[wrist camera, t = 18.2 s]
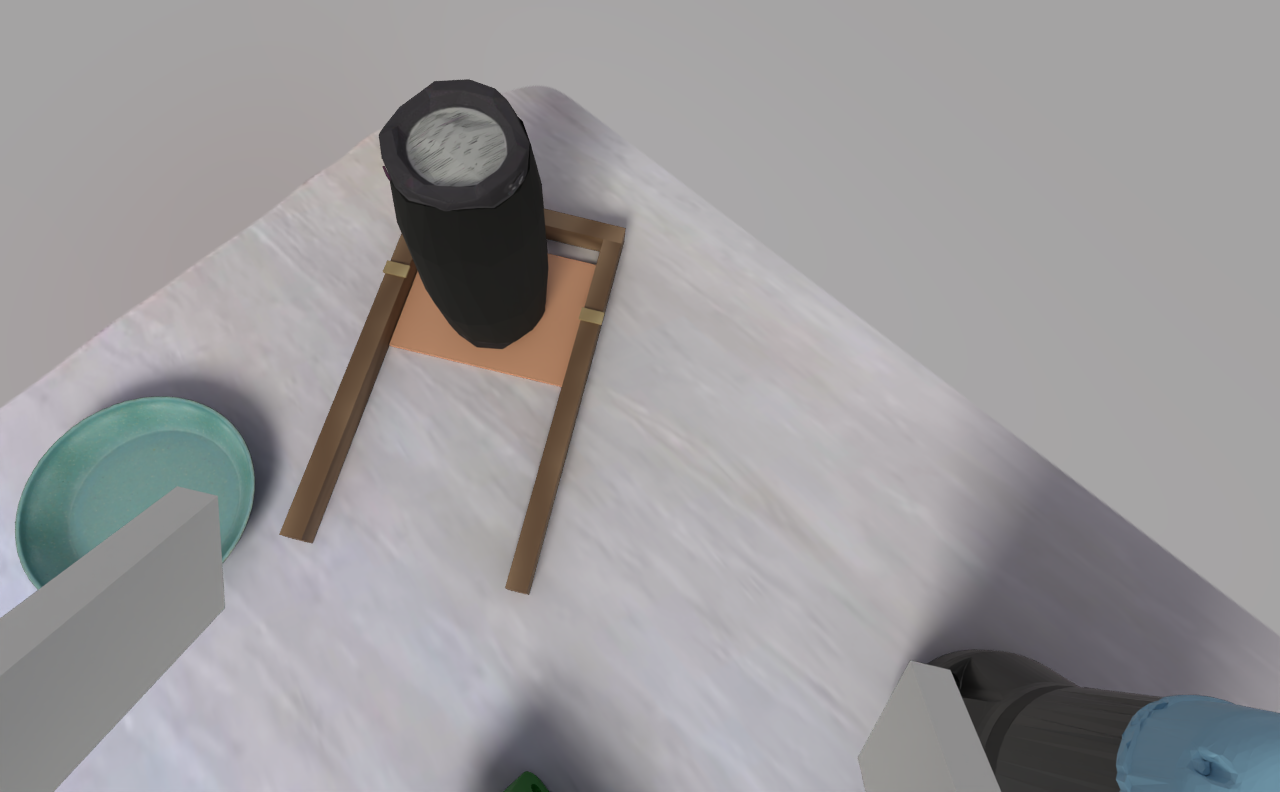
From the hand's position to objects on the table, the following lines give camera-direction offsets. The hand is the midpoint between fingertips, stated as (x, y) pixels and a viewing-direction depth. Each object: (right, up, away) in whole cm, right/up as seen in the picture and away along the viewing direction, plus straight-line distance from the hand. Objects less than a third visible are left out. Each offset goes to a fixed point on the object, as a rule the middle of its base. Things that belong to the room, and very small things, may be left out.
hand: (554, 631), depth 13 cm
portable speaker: (-10, +12, +41) cm, 44 cm away
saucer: (-32, -3, +34) cm, 47 cm away
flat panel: (-10, +12, +41) cm, 44 cm away
